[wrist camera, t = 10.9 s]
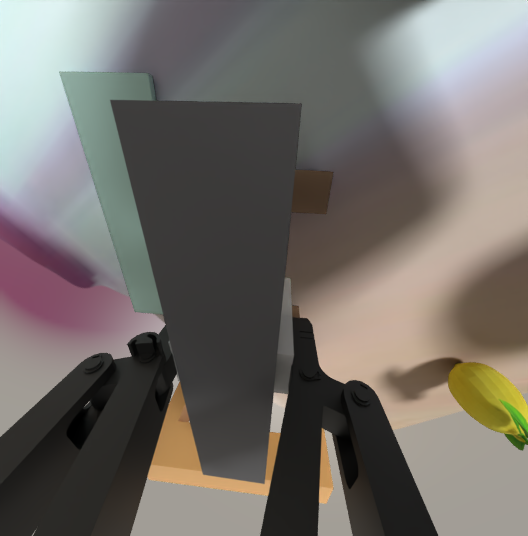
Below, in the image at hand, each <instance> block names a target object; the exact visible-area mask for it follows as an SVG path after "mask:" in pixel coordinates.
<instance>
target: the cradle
mask: <svg viewBox="0 0 528 536" xmlns="http://www.w3.org/2000/svg"><path fill="white" fill-rule="evenodd" d="M332 177H333V172H331V171H313V170H295V178H294V188H293V199H292V209H291V212H296V213H315V214H326V212H327V206H328V200H329V195H330V189H331V183H332ZM292 317H296V318H300V316H299V307H298V306H292Z"/></svg>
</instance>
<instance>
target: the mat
mask: <svg viewBox="0 0 528 536" xmlns="http://www.w3.org/2000/svg"><path fill="white" fill-rule="evenodd" d="M59 73H60V76H61V79H62V83H63V86H64V89H65V92H66V95H67V98H68V102H69V105H70V108H71V111H72V114H73V117H74V121H75V124H76V127H77V130H78V133H79V137H80V140H81V143H82V146H83V149H84V152H85V156H86V159H87V162H88V165H89V168H90V171H91V175H92V178H93V181H94V184H95V187H96V190H97V194H98V197H99V200H100V203H101V206H102V209H103V213H104V216H105V219H106V222H107V225H108V228H109V232H110V235H111V238H112V241H113V244H114V247H115V251H116V254H117V257H118V260H119V263H120V267H121V270H122V273H123V276H124V279H125V282H126V286H127V289H128V292H129V295H130V298H131V301H132V304H133V308H134V311H135V312H141V313H153V314H163V312H162V308H161V304H160V300H159V296H158V292H157V288H156V284H155V280H154V276H153V272H152V268H151V264H150V259H149V255H148V251H147V247H146V243H145V239H144V235H143V231H142V227H141V223H140V219H139V215H138V211H137V207H136V203H135V199H134V195H133V191H132V187H131V183H130V179H129V175H128V171H127V167H126V163H125V159H124V155H123V151H122V147H121V143H120V139H119V135H118V131H117V127H116V123H115V119H114V115H113V110H112V106H111V102H110V100H149V101H156V96H155V90H154V84H153V77H152V76H151V75H150V74H148V73H116V72H59Z"/></svg>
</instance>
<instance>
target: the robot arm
mask: <svg viewBox="0 0 528 536" xmlns="http://www.w3.org/2000/svg"><path fill="white" fill-rule="evenodd" d="M127 345H128V347H129V350H130V353H131V355H132V356H131V357H127V358H121V359H115V360H113V358H112V356H111V354H108V353H99V354H96V355H93V356H91V357H89V358H87V359H85V360H84V361H83V362H81V363H80V364H79V365H78V366H77V367H76V368H75V369H74V370H73V371H72V372H70V373H69V374H68V375H67V376H66V377H65V378H64V379H63V380H62V381H61V382H60V383H58V384H57V385H56V386H55V387H54V388H53V389H52V390H51V391H50V392H49V393H48V394H47V395H46V396H44V397H43V398H42V399H41V400H40V401H39V402H38V403H37V404H36V405H35V406H34V407H32V408H31V409H30V410H29V411H28V412H27V413H26V414H25V415H24V416H23V417H22V418H21V419H19V420H18V421H17V422H16V423H15V424H14V425H13V426H12V427H11V428H10V429H9V430H8V431H7V432H6V433H4V434H3V435H2V436H1V437H0V536H32V534H33V533H34V531H35V530H36V531H35V533H34V535H33V536H130V533H131V530H132V527H133V524H134V520H135V517H136V513H137V510H138V507H139V503H140V500H141V497H142V493H143V490H144V486H145V483H146V480H147V476H148V473H149V469H150V466H151V463H152V459H153V456H154V453H155V449H156V446H157V442H158V439H159V436H160V432H161V429H162V425H163V422H164V419H165V415H166V412H167V409H168V405H169V402H170V398H171V395H172V391H173V383H172V381H173V380H174V378H175V376H176V374H177V377H178V381H180V380H179V376H178V372H177V368H176V364H175V360H174V356H173V352H172V348H171V344H170V340H169V336H168V332H167V328H166V325H165V327H164V328H163V329H162V331H161V332H160V333H159V335H158V334H157V333H155V332H146V333H142V334H140V335H137V336H136V337H134V338H133V339H131V340H130V342H129V343H128V344H127ZM274 392H276V393H284V394H288V398H287V403H286V408H285V413H284V418H283V423H282V428H281V433H280V438H279V443H278V448H277V453H276V459H275V464H274V469H273V474H272V479H271V484H270V489H269V494H268V500H267V504H266V509H265V514H264V519H263V525H262V529H261V535H260V536H318V510H319V488H320V464H321V440H322V428H323V429H325V430H327V431H329V432H331V433H332V436H333V441H334V446H335V450H336V455H337V460H338V465H339V470H340V475H341V480H342V485H343V490H344V494H345V500H346V505H347V509H348V514H349V519H350V524H351V529H352V534H353V536H438V534H437V531H436V529H435V527H434V525H433V523H432V520H431V518H430V515H429V513H428V511H427V509H426V506H425V504H424V502H423V499H422V497H421V495H420V492H419V490H418V488H417V486H416V483H415V481H414V478H413V476H412V474H411V472H410V469H409V467H408V465H407V463H406V460H405V458H404V455H403V453H402V451H401V449H400V446H399V444H398V442H397V440H396V437H395V435H394V433H393V430H392V428H391V426H390V423H389V421H388V419H387V416H386V414H385V412H384V409H383V407H382V405H381V403H380V400H379V398H378V396H377V395H376V393H375V391H374V390H373V389H372V388H371V387H369V386H368V385H367V384H365V383H363V382H361V381H357V380H352V381H349V382H347V383H346V384H343V383H341V382H339V381H336V380H334V379H332V378H330V377H329V376H327V375H326V374H325V373H324V372H323V371H322V369H321V368H320V366H319V363H318V357H317V351H316V345H315V340H314V334H313V327H312V324H311V323H310V321H309V320H308V319H307V318H296V317H292V300H291V278H285V281H284V291H283V301H282V311H281V322H280V332H279V342H278V352H277V363H276V373H275V383H274ZM89 401H90V402H89ZM88 402H89V403H88ZM87 403H88V404H87ZM86 404H87V405H86ZM85 405H86V406H85ZM84 406H85V407H84ZM37 527H38V528H37Z"/></svg>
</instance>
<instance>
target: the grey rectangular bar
mask: <svg viewBox="0 0 528 536" xmlns="http://www.w3.org/2000/svg"><path fill="white" fill-rule="evenodd" d="M110 102H111V106H112V110H113V115H114V119H115V123H116V127H117V131H118V135H119V139H120V143H121V147H122V151H123V155H124V159H125V163H126V167H127V171H128V175H129V179H130V183H131V187H132V191H133V195H134V199H135V203H136V207H137V211H138V215H139V219H140V223H141V227H142V231H143V235H144V239H145V243H146V247H147V251H148V255H149V259H150V264H151V268H152V272H153V276H154V280H155V284H156V288H157V292H158V296H159V300H160V304H161V308H162V312H163V316H164V320H165V324H166V328H167V332H168V336H169V340H170V344H171V348H172V352H173V356H174V360H175V364H176V368H177V372H178V376H179V380H180V384H181V388H182V392H183V396H184V400H185V404H186V408H187V412H188V417H189V421H190V425H191V429H192V433H193V437H194V441H195V445H196V449H197V453H198V457H199V461H200V465H201V469H202V473H203V475H208V476H215V477H221V478H228V479H235V480H241V481H248V482H254V483H261V484H265V475H266V465H267V455H268V444H269V434H270V423H271V414H272V404H273V393H274V383H275V373H276V363H277V352H278V342H279V332H280V322H281V311H282V301H283V291H284V281H285V270H286V260H287V250H288V240H289V229H290V219H291V209H292V199H293V188H294V178H295V168H296V158H297V148H298V137H299V127H300V117H301V107H302V104H296V103H247V102H198V101H149V100H110Z"/></svg>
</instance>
